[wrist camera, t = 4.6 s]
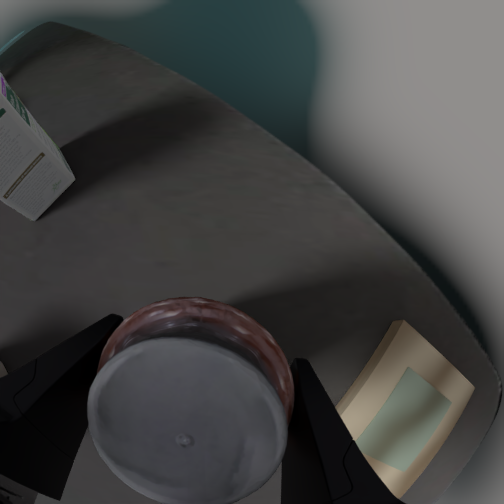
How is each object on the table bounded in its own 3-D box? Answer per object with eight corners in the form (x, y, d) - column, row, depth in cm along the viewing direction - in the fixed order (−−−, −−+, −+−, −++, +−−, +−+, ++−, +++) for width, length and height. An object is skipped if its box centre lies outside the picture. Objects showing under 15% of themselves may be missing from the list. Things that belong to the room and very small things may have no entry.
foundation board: (464, 386, 17) (475, 387, 15) (391, 491, 14) (400, 499, 12) (393, 320, 18) (404, 319, 17) (297, 450, 15) (302, 459, 14)
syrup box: (78, 179, 19) (-14, 63, 5) (33, 225, 18) (-77, 142, 4) (59, 147, 20) (-12, 46, 6) (19, 188, 19) (-66, 107, 5)
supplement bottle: (248, 305, 16) (333, 270, 5) (257, 401, 14) (339, 514, 4) (148, 310, 15) (34, 282, 4) (157, 406, 13) (89, 522, 3)
